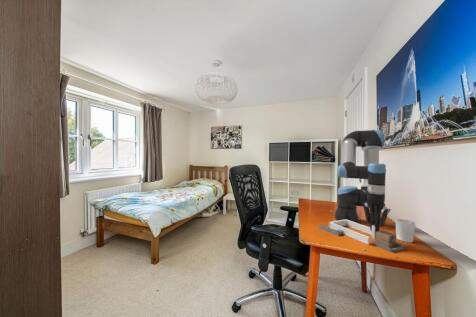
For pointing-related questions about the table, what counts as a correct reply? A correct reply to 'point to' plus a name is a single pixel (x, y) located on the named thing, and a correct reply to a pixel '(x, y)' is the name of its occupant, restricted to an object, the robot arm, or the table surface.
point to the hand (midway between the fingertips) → (374, 237)
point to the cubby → (338, 225)
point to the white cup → (405, 230)
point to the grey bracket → (398, 248)
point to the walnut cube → (386, 238)
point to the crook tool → (331, 230)
